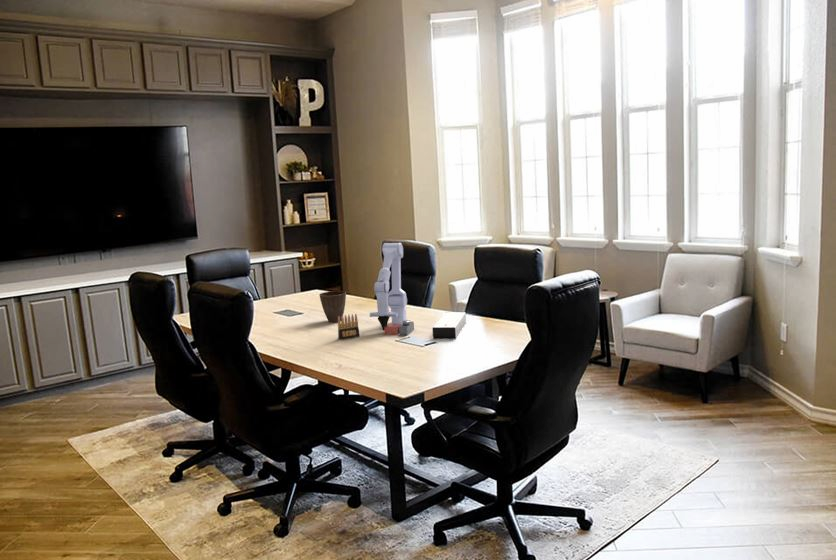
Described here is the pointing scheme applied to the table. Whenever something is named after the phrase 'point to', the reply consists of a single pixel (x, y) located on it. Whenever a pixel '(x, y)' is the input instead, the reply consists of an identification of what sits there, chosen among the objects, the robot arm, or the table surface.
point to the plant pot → (333, 304)
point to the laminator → (449, 325)
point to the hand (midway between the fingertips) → (384, 330)
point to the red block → (392, 328)
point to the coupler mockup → (406, 328)
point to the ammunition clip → (348, 328)
